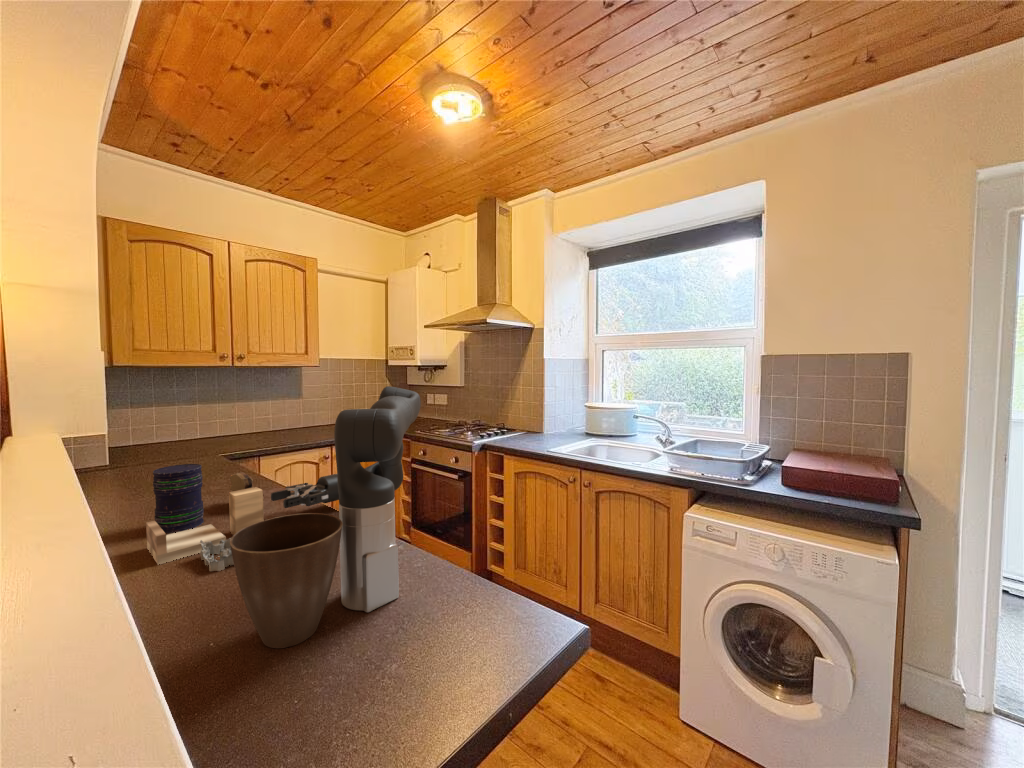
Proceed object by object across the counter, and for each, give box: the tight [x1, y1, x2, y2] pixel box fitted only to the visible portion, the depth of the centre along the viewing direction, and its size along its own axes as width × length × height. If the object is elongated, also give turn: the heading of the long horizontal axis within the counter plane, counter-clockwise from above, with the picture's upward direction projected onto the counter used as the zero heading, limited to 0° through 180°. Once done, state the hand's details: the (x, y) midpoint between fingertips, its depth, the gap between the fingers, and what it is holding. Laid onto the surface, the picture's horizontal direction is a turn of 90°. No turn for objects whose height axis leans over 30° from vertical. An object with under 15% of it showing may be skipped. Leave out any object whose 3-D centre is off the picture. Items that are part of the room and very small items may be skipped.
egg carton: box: [199, 537, 234, 572], centre depth 88 cm, size 11×8×4 cm
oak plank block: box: [228, 486, 264, 536], centre depth 103 cm, size 4×6×10 cm
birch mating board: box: [145, 519, 227, 566], centre depth 94 cm, size 12×12×6 cm
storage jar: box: [152, 463, 205, 534], centre depth 106 cm, size 10×10×15 cm
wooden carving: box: [228, 472, 254, 492], centre depth 121 cm, size 16×5×10 cm, turn 58°
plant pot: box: [230, 512, 342, 649], centre depth 63 cm, size 15×15×16 cm
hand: (277, 500), depth 108 cm, fingers open, 8 cm apart
